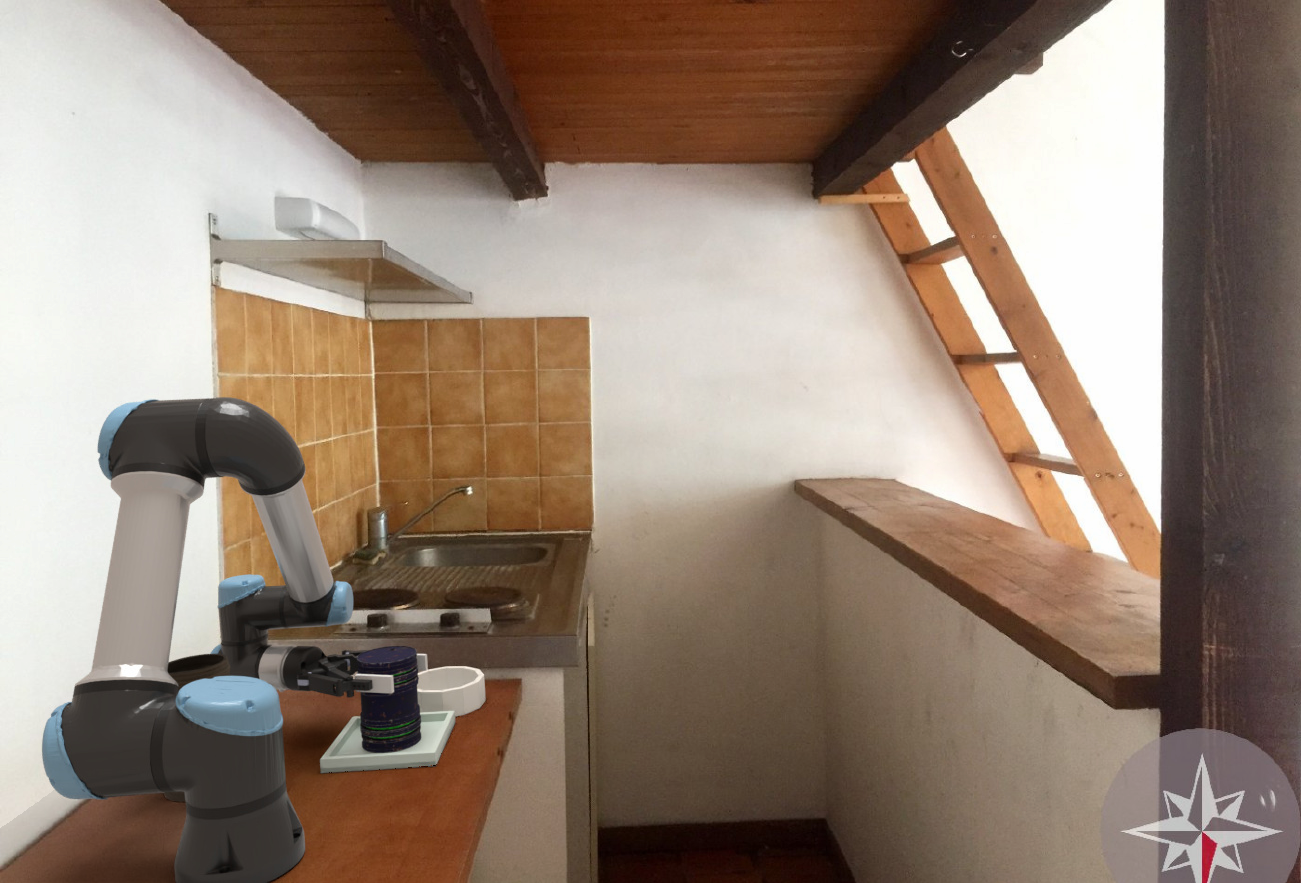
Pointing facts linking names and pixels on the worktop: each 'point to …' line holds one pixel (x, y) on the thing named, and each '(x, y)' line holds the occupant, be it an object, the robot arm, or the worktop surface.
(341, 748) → the tray
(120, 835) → the worktop surface
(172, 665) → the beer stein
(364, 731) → the rusty blue drum
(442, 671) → the holder ring
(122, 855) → the worktop surface
